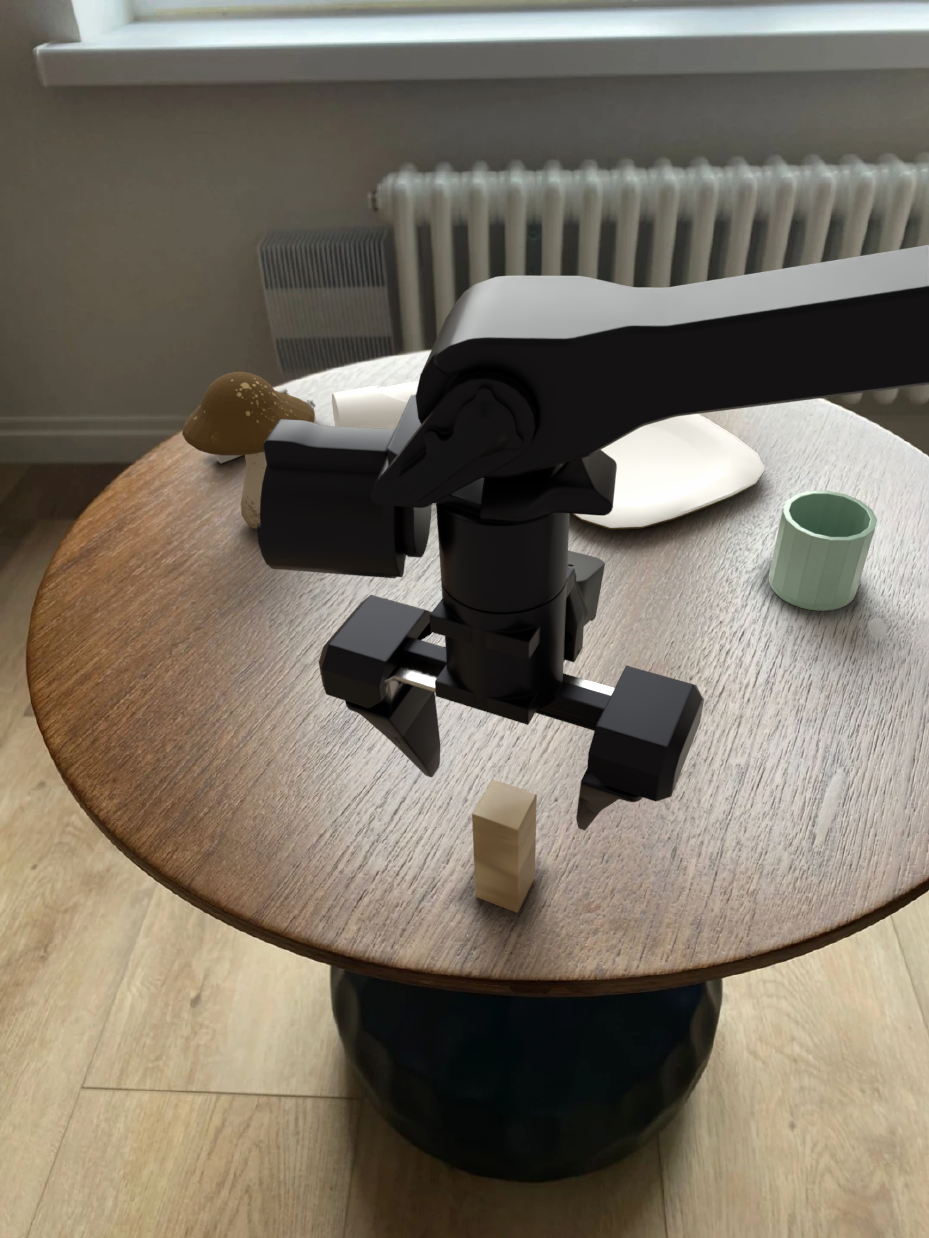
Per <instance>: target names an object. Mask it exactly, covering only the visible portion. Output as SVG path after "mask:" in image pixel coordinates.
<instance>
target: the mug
mask: <svg viewBox="0 0 929 1238" xmlns="http://www.w3.org/2000/svg"><path fill="white" fill-rule="evenodd" d="M418 383H419V380H415V381H410V382H405V383H400V384H392V385H388V386H383V387H380V386H379V385H378V384H376V385H371V386H370V385H369V386H365V387H359V388H353V389H347V390H342V391H337V392H332V394H331V404H332V415H333V421H334V426H341V427H359V428H378V429H396V427H397V425H398V423H399V420H400V418H401V416H402V414H403V411H404V409H405V407H406V405H407V403H408V400H409V398H410V396H411V395H415V394H416V392H417V388H418Z"/></svg>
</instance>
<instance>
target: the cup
mask: <svg viewBox="0 0 929 1238" xmlns="http://www.w3.org/2000/svg"><path fill="white" fill-rule="evenodd" d="M877 524H878V518H877V516H876V514H875V512H874V510H873V509H872V508H871V507H870V506H868V505H867V504H866V503H865V502H863V501H862V500H861V499H858V498H856V497H853V496H852V495H848V494H846V493H843V492H837V491H831V490H807V491H804V492H800V493H799V492H798V493H796V494H794V495H793V496H791V497H790V498H788V499H787V500H786V501H785V502H784V506H783V508H782V512H781V516H780V521H779V526H778V530H777V534H776V535H777V536H776V538H775V539H776V541H775V544H774V548H773V553H772V559H771V563H770V569H769V571H768V572H769V573H768V583H769V587H770V588H771V590H772V591H773V592H774V593H775V595H777V596H778V597H779V598H780V599H781V600H782V601H784V602H786V603H788V604H791V605H792V606H795V607H797V608H801V609H805V610H809V611H821V612H822V611H823V612H824V611H825V612H826V611H833V610H838V609H841V608H843V607H846V606H847V605H849V604H850V603H851V602H852V601H853V600H854V599H855V597H856V595H857V592H858V589H859V588H858V587H859V585H860V582H861V578H862V575H863V571H864V568H865V565H866V561H867V558H868V554H869V551H870V547H871V544H872V540H873V538H874V534H875V530H876V527H877Z"/></svg>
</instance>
